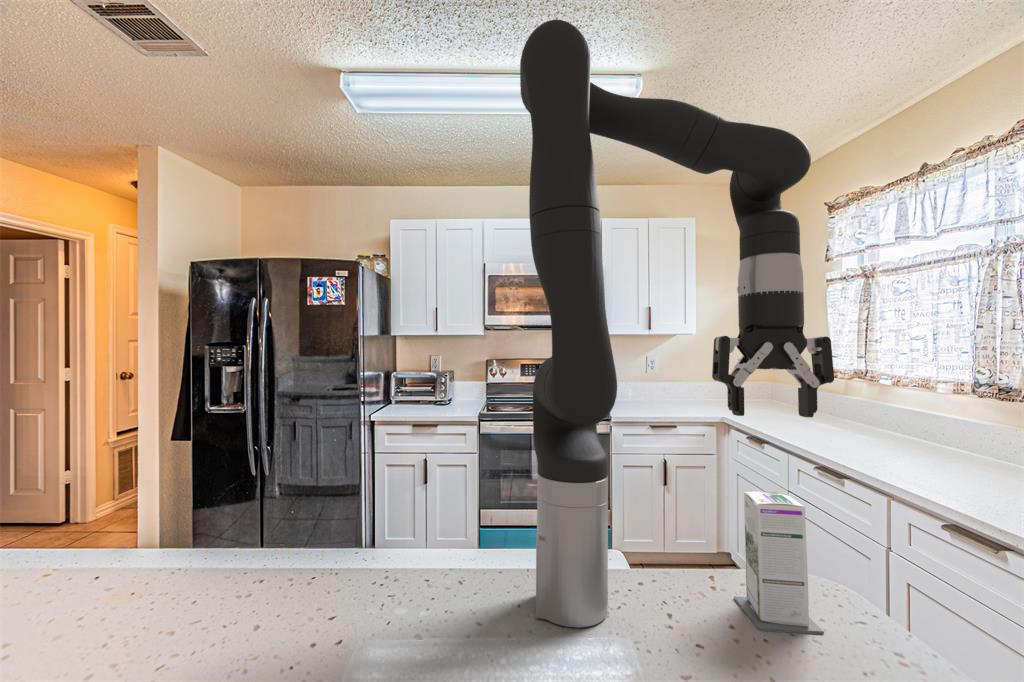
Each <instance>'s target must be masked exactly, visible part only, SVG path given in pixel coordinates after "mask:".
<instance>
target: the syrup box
mask: <svg viewBox="0 0 1024 682" xmlns="http://www.w3.org/2000/svg"><path fill="white" fill-rule="evenodd" d="M743 495H744V496H743V497H744V498H743V499H744V503H743V504H744V507H743V508H744V509H743V510H744V534H745V535H744V537H745V539H744V540H745V542H744V543H745V578H746V579H745V580H746V581H745V582H746V584H745V586H746V597H747V599H748V601H749V603H750V604H751V606H752V607H753V609H754V611H755V612H756V614H757V616H758V617H759V619H760V620H761V621H766V622H771V623H778V624H787V625H797V626H807V627H809V618H810V611H809V609H810V608H809V607H810V603H809V601H810V600H809V573H808V551H807V533H806V532H807V529H806V528H807V526H806V525H807V524H806V507H805V506H804V505H803V504H802V503H800V502H799V501H797V500H796V499H795V498H794V497H792V496H791V495H789V494H788V493H782V492H775V491H774V492H773V491H744V493H743Z"/></svg>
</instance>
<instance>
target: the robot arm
mask: <svg viewBox="0 0 1024 682" xmlns="http://www.w3.org/2000/svg"><path fill="white" fill-rule="evenodd" d="M591 56H592V55H591V50H590V47H589V44H588V42H587V40H586V38H585V36H584V34H582V32H581V31H580V30H579V28H577V27H576V26H575V25H573V24H572V23H570V22H569V21H566V20H563V19H551V20H547V21H545V22H544V23H541V24H540V25H538V26H537V27H536V28H534V30H532V32H531V33H530V35H529V37H528V38H527V39H526V41H525V44H524V46H523V48H522V51H521V56H520V62H519V63H520V64H519V65H520V66H519V72H520V74H519V75H520V78H519V79H520V81H519V83H520V84H519V85H520V97H521V100H522V103H523V105H524V108H525V109H526V110H527V112H528V113H529V114H530V121H531V133H532V134H531V135H532V140H531V141H532V142H531V143H532V145H531V147H532V148H531V158H530V176H529V195H528V196H529V197H528V198H529V199H528V201H529V202H528V203H529V204H528V205H529V206H528V207H529V208H528V209H529V210H528V211H529V229H530V245H531V253H532V258H533V262H534V267H535V270H536V274H537V276H538V280H539V282H540V285H541V288H542V291H543V293H544V297H545V299H546V302H547V306H548V311H549V315H550V324H551V356H550V357H548V358H547V359H545V360H544V361H543V362H542V363H541V364H540V366H539V367H538V369H537V370H536V373H535V377H534V379H533V384H532V385H533V386H532V427H533V429H532V431H533V432H532V433H533V435H532V436H533V447H534V452H535V457H536V461H537V465H536V466H537V470H536V471H537V483H536V484H537V493H536V494H537V497H536V505H537V506H536V509H537V510H536V513H537V514H536V539H535V541H536V543H535V546H536V548H535V549H536V551H535V554H536V555H535V618H536V619H543V620H547V621H549V622H550V623H553V624H556V625H559V626H562V627H567V628H586V627H592V626H595V625H597V624H599V623H602V622H603V621H604V620H605V618H606V617H607V615H608V613H609V611H608V609H609V608H608V603H609V592H608V591H609V590H608V589H609V588H608V587H609V586H608V585H609V583H608V581H609V580H608V579H609V578H608V577H609V575H608V574H609V571H608V570H609V566H608V565H609V564H608V563H609V559H608V558H609V549H608V548H609V542H608V541H609V536H608V535H609V534H608V533H609V462H608V461H609V460H608V459H609V458H608V455H607V453H606V451H605V449H604V448H603V446H602V444H601V441H600V439H599V436H598V428H597V425H598V424H600V423H601V422H602V421H604V420H605V419H606V418H607V417H608V416H609V415H610V413H611V412H612V409H614V406H615V403H616V400H617V397H618V396H617V393H618V380H617V369H616V366H615V360H614V355H613V349H612V344H611V338H610V332H609V326H608V325H609V324H608V320H607V310H606V298H605V297H606V296H605V277H604V276H605V275H604V269H603V268H604V265H603V252H602V251H603V250H602V248H603V247H602V244H603V243H602V230H601V229H602V228H601V227H602V226H601V213H600V204H599V203H600V202H599V196H598V195H599V194H598V185H597V176H596V175H597V174H596V169H595V162H594V161H595V159H594V156H593V155H594V154H593V148H592V141H591V134H592V135H595V136H599V137H602V138H607V139H611V140H614V141H616V142H621V143H624V144H627V145H630V146H633V147H635V148H638V149H641V150H643V151H647V152H650V153H652V154H655V155H657V156H659V157H662V158H664V159H666V160H668V161H671V162H673V163H675V164H677V165H680V166H682V167H684V168H686V169H689V170H691V171H693V172H696V173H699V174H702V175H703V174H704V175H710V174H712V173H713V174H714V173H715V172H718V171H722V170H725V171H731V172H732V173H731V176H730V181H729V196H730V201H731V206H732V210H733V213H734V218H735V222H736V224H737V227H738V230H739V241H738V242H739V244H738V245H739V268H738V269H739V270H738V276H737V288H736V291H737V298H738V300H737V303H738V306H737V307H738V310H737V311H738V330H739V331H738V332H739V333H738V336H737V337H729V336H728V335H721V336H716V337H715V338H714V339H713V353H712V369H711V370H712V375H711V377H712V379H713V380H714V381H717V382H719V383H723V384H724V385H725V386H726V388H727V390H726V391H727V408H728V410H729V411H730V412H731V414H732V415H733V416H738V417H744V416H745V387H743V384H744V383H745V381H746V380H747V379H748V378H749V377H750V375H752V374H753V373H754V372H755V371H756V370H785V371H787V373H788V374H790V375H791V376H792V377H794V379H795V380H796V382H797V383H798V384H799V385H800V387H797V395H798V396H797V398H798V399H797V400H798V401H797V405H798V406H797V407H798V409H797V410H798V415H799V416H800V417H802V418H813V417H814V414H816V413H817V411H818V388H819V387H820V386H822V385H826V384H832V383H834V381H835V372H834V361H833V349H832V338H830V337H829V336H817V337H811V338H810V337H809V338H806V336H805V335H804V327H805V298H804V297H805V296H804V293H805V291H804V289H805V288H804V271H803V266H802V259H801V226H800V221H799V218H798V216H797V215H796V214H795V213H794V212H792V211H789V210H785V209H784V210H783V207H782V201H781V196H782V193H784V192H786V191H787V190H789V189H791V188H792V187H794V186H795V185H797V184H798V183H799V182H801V180H802V179H804V177H806V175H807V173H808V171H809V169H810V167H811V163H812V155H811V152H810V149H809V147H808V146H807V145H806V143H805V142H804V140H802V139H801V138H800V137H799V136H797V135H795V134H794V133H792V132H790V131H787V130H784V129H781V128H777V127H773V126H766V125H761V124H760V125H759V124H753V123H748V122H737V121H731V120H727V119H725V118H723V117H721V116H718V115H716V114H714V113H712V112H709V111H707V110H704V109H702V108H700V107H698V106H695V105H693V104H690V103H688V102H684V101H680V100H675V99H670V98H651V97H650V98H648V97H646V98H645V97H631V96H626V95H620V94H617V93H614V92H611V91H609V90H606V89H604V88H602V87H600V86H599V85H597V84H595V83H592V82H591V73H592V72H591V71H592V57H591ZM735 347H736V348H737V349H738V350H739V352H740V354H741V355H742V356H741V357H740V359H739V360H738V361H737V362H736V364H735V365H734V367H733V370H732V371H731V373H729V371H730V370H729V369H730V357H731V356H730V354H731V353H733V352H734V350H735ZM806 349H807V351H808V353H809V354H810V356H811V365H812V367H811V366H810V365H809V364H808V363H807V361H806V360H805V359H804V358H803V356H802V354H803V352H804V351H805V350H806ZM811 369H812V370H811Z"/></svg>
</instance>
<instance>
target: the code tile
mask: <svg viewBox="0 0 1024 682" xmlns="http://www.w3.org/2000/svg"><path fill="white" fill-rule="evenodd" d="M733 599H734V601H735V602H736V603H737V604H738V606H739V607H740V608H741V610H742V611H743V612H744V614H745V615H746V616H747V617H748V619H750V621H751V622H752V623H753V624H754V626H755V627H756V628H757V630H758V631H761V632H778V633H779V632H780V633H798V634H812V635H813V634H814V635H815V634H816V635H824V634H825V632H824V629H822V628H821V627H819V625H818V624H817V623H815V622H814V620H813V619H812V618H810V617H809V627H807V626H797V625H787V624H778V623H771V622H766V621H761V620H760V619H759V617H758V616H757V614H756V612H755V611H754V609H753V607H752V606H751V604H750V603H749V601H748V599H747V596H737V595H736V596H733Z"/></svg>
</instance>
